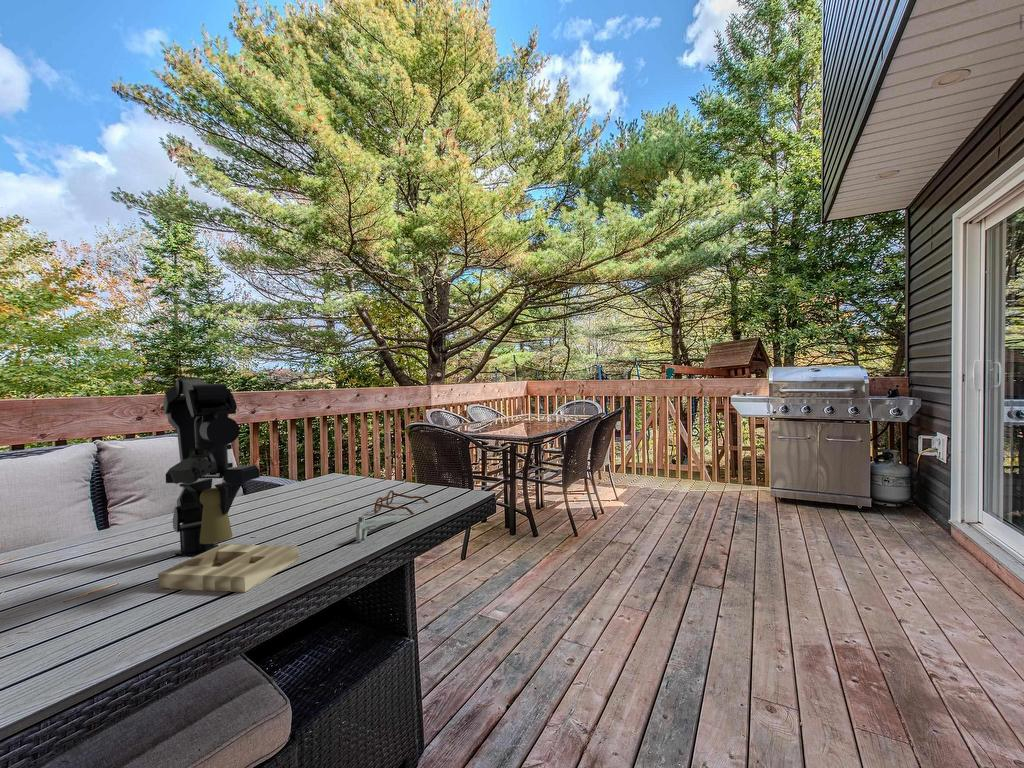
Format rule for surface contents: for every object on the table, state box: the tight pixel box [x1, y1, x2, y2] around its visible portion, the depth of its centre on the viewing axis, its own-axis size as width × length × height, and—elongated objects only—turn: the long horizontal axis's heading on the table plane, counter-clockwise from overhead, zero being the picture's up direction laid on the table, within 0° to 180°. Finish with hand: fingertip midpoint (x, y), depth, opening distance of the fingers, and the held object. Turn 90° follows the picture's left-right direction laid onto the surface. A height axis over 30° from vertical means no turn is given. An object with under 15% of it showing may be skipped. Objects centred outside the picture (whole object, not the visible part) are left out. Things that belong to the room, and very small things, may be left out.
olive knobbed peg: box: [200, 487, 233, 544], centre depth 99 cm, size 6×6×11 cm
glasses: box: [373, 489, 430, 515], centre depth 143 cm, size 13×13×5 cm
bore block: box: [157, 544, 299, 593], centre depth 98 cm, size 20×16×3 cm
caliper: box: [355, 514, 403, 543], centre depth 123 cm, size 20×1×6 cm, turn 163°
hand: (215, 513), depth 99 cm, fingers closed on olive knobbed peg, 5 cm apart
